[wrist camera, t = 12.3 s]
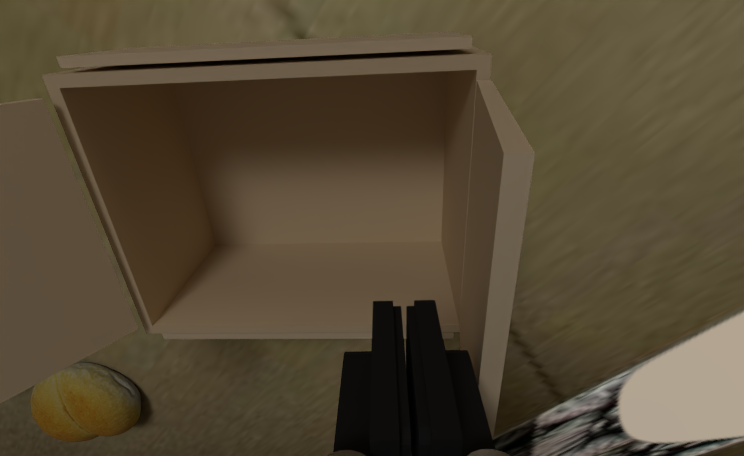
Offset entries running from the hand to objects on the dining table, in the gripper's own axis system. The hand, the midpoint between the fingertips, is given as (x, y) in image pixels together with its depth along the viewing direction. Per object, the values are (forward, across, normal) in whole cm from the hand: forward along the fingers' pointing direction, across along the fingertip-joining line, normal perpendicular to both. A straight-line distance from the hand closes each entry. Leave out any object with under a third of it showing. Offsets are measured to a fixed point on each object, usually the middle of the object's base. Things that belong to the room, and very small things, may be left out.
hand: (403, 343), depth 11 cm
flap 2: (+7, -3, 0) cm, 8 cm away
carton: (+17, +5, 0) cm, 17 cm away
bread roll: (+18, +28, +22) cm, 40 cm away
